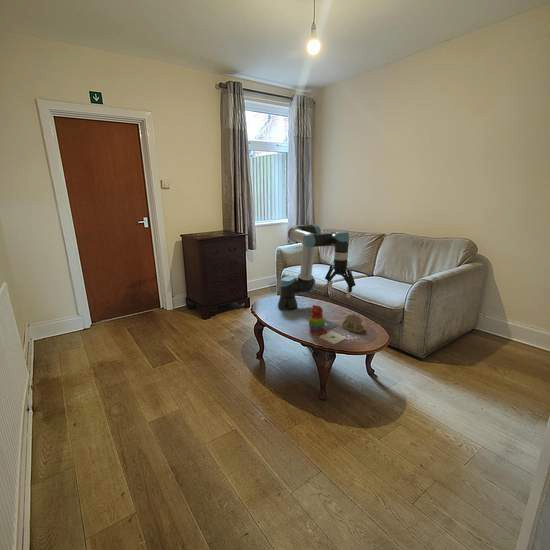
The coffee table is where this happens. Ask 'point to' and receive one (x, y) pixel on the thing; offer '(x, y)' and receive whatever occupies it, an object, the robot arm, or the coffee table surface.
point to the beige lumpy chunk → (353, 323)
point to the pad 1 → (329, 325)
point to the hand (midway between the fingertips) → (338, 294)
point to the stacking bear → (317, 321)
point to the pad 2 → (332, 337)
